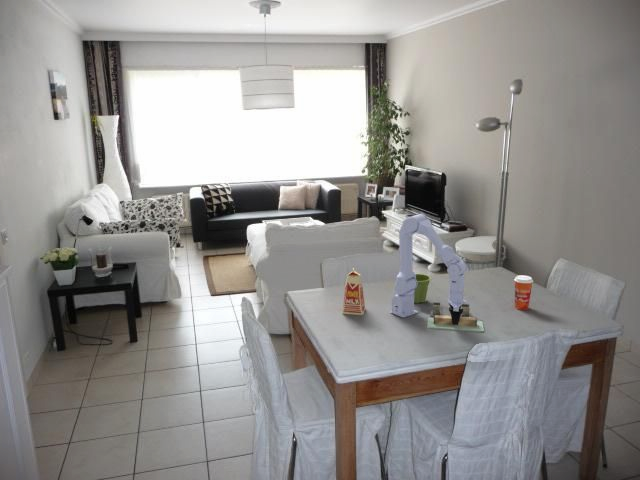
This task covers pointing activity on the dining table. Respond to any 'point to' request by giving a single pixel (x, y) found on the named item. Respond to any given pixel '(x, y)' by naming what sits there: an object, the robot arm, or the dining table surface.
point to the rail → (462, 322)
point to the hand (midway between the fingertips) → (455, 321)
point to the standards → (437, 312)
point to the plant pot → (421, 288)
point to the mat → (455, 326)
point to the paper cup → (522, 291)
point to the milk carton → (354, 295)
